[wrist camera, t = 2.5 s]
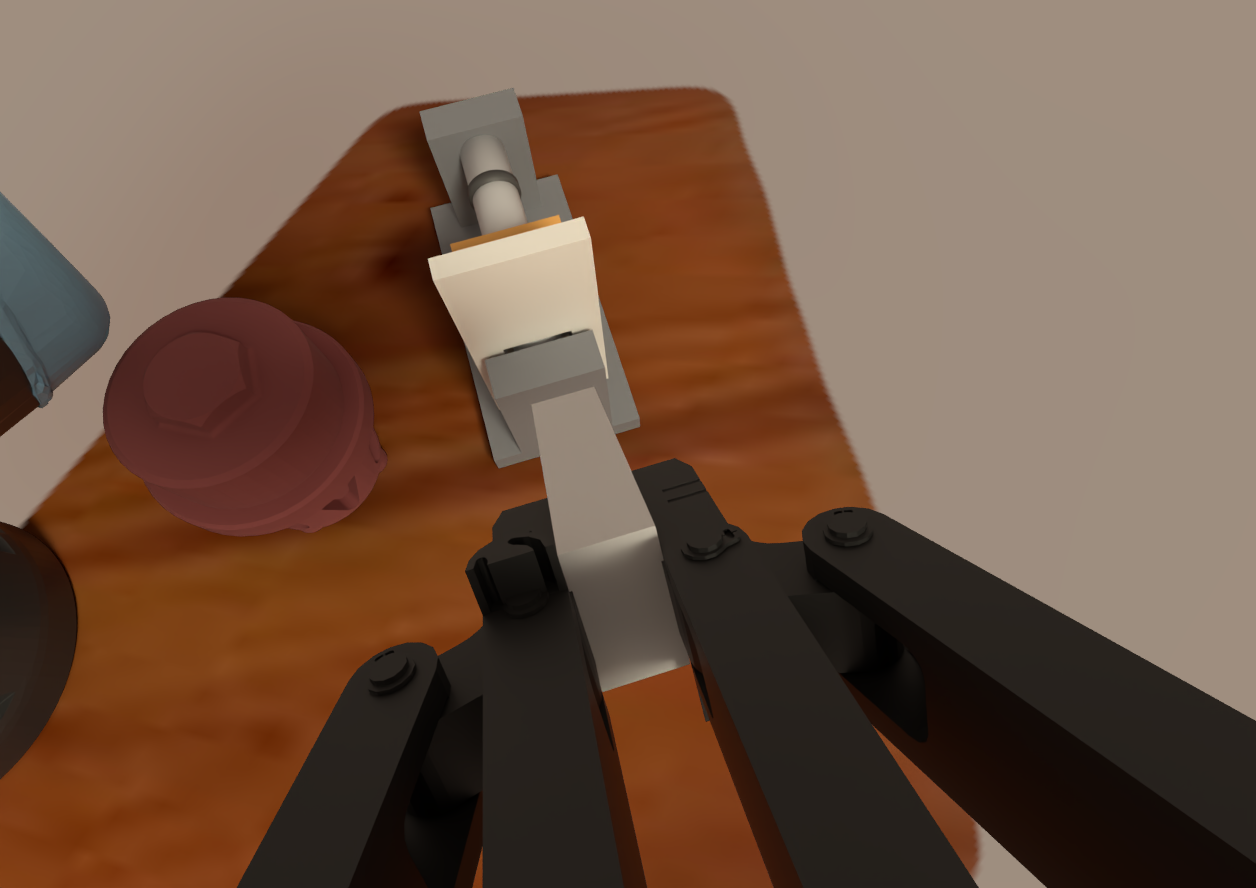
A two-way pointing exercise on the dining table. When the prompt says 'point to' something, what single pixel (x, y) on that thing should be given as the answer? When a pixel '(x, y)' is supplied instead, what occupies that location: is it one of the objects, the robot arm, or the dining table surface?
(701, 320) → the dining table surface
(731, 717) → the robot arm
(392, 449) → the dining table surface
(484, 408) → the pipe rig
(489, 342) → the sleeve
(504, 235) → the orange flat plate
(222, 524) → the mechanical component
